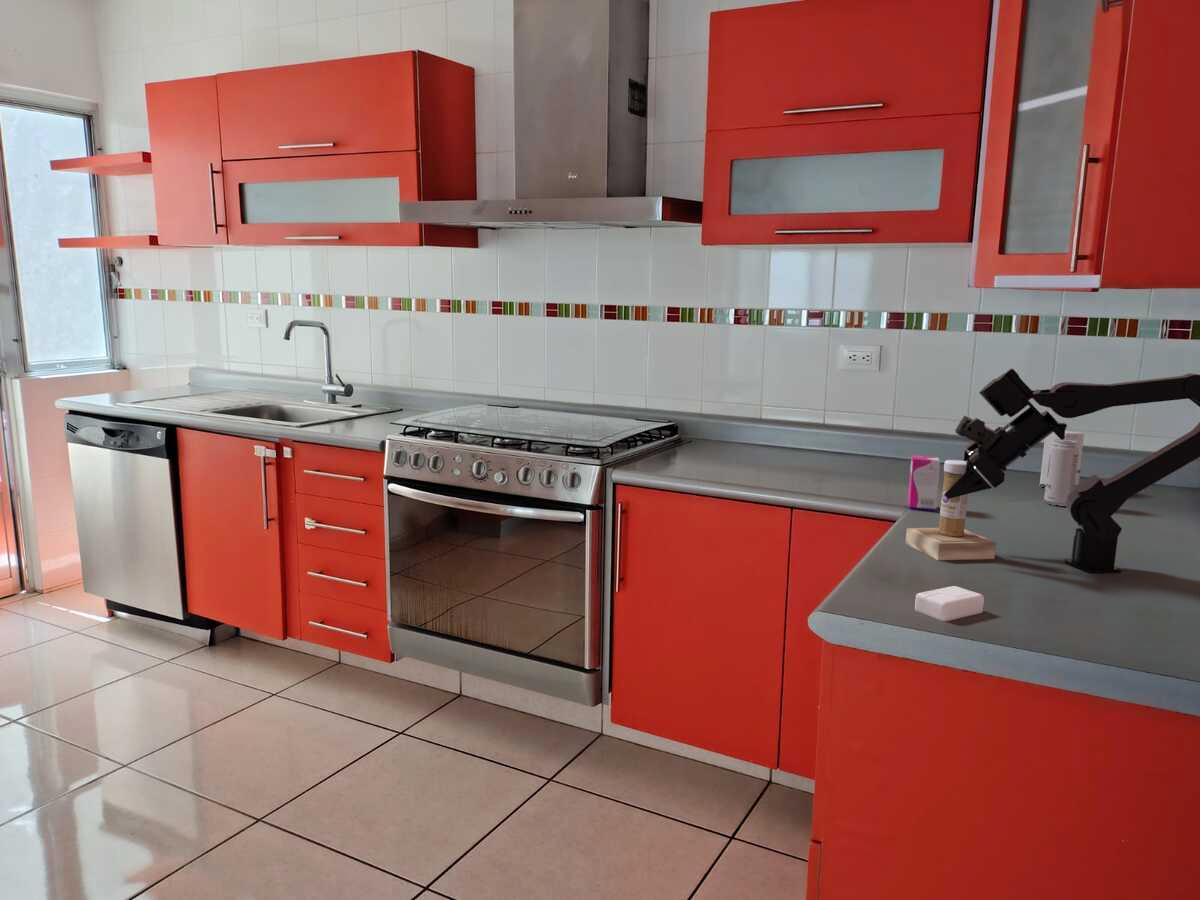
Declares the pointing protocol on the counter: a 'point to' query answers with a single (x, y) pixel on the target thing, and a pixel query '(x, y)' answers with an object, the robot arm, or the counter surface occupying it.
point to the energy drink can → (1061, 470)
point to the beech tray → (950, 544)
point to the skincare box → (1047, 443)
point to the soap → (949, 603)
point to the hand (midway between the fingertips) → (946, 492)
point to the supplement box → (923, 483)
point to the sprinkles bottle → (953, 501)
